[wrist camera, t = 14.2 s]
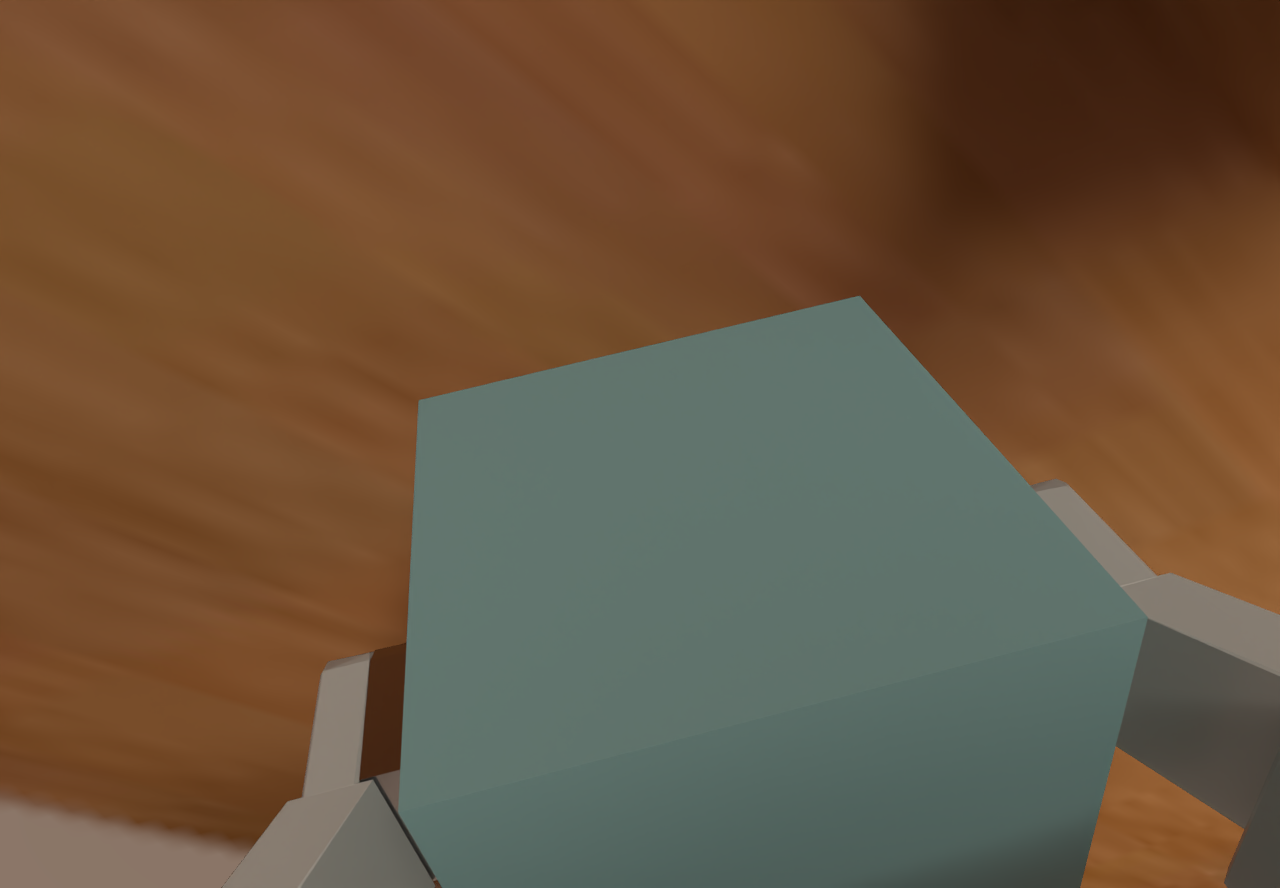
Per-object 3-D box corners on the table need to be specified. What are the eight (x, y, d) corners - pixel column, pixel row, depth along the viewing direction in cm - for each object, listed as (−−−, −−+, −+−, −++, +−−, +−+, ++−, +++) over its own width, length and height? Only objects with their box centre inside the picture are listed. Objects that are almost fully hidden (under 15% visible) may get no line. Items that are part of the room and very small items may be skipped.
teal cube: (527, 691, 13) (566, 1100, 8) (419, 399, 10) (398, 811, 6) (865, 605, 13) (1060, 963, 9) (859, 295, 10) (1148, 616, 6)
